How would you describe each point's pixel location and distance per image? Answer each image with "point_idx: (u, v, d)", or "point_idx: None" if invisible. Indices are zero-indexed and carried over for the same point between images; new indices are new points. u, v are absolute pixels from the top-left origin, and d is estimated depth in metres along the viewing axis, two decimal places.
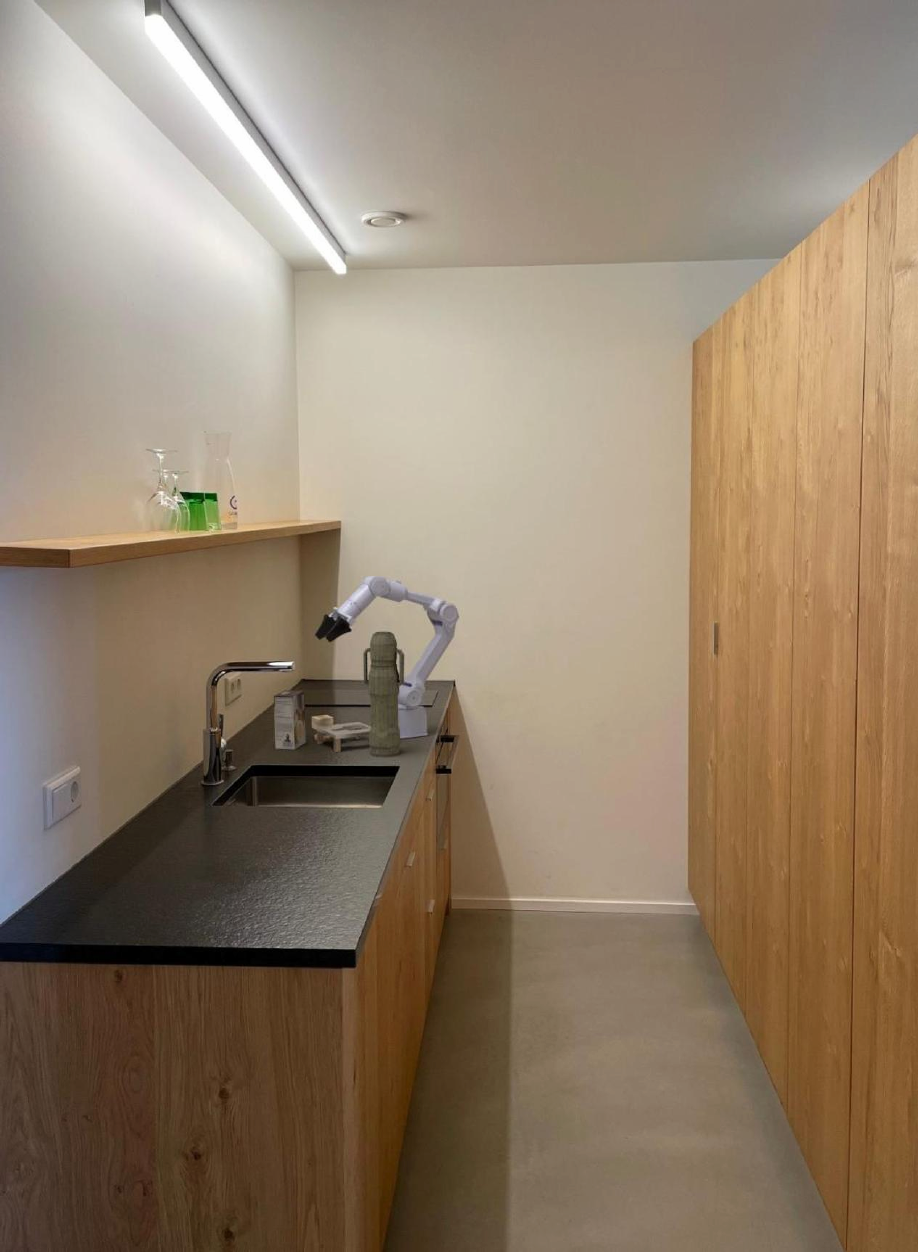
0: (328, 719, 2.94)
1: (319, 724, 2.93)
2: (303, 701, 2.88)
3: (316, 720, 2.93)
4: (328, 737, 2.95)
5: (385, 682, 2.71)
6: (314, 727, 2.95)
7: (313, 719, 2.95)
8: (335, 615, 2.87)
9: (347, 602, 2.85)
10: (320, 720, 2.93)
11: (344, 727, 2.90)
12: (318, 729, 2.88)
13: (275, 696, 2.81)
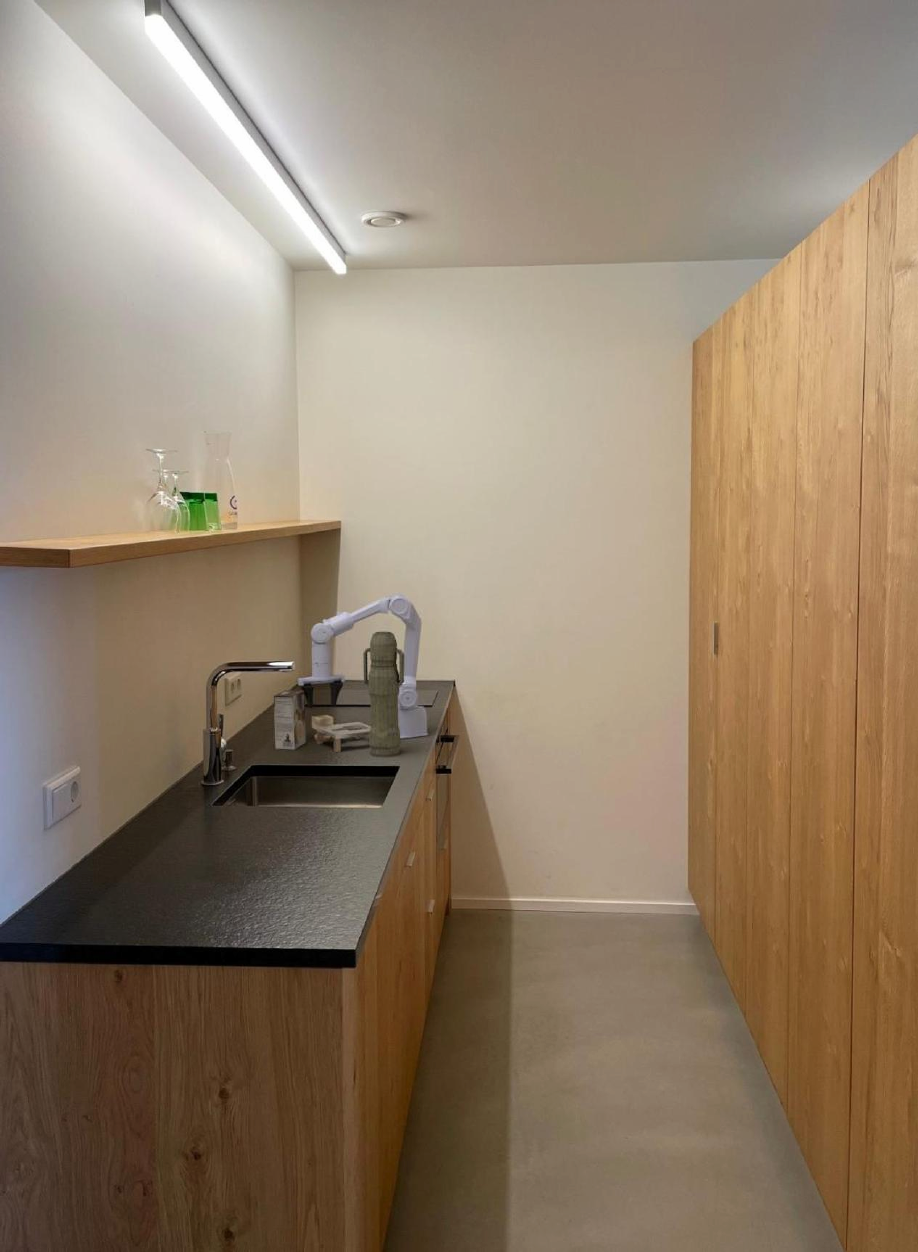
0: (328, 719, 2.94)
1: (319, 724, 2.93)
2: (303, 701, 2.88)
3: (316, 720, 2.93)
4: (328, 737, 2.95)
5: (385, 682, 2.71)
6: (314, 727, 2.95)
7: (313, 719, 2.95)
8: None
9: None
10: (320, 720, 2.93)
11: (344, 727, 2.90)
12: (318, 729, 2.88)
13: (275, 696, 2.81)
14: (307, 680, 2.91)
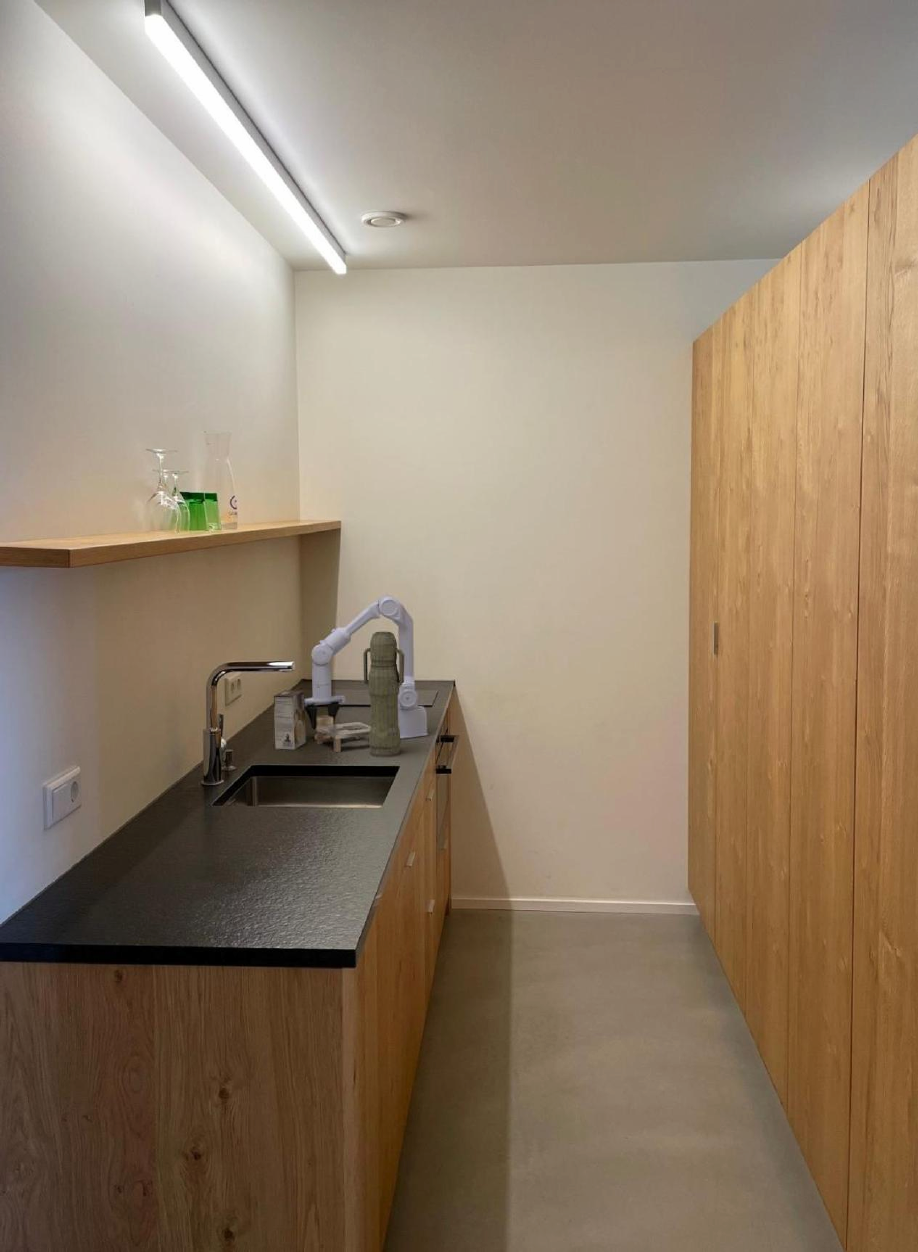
0: (328, 719, 2.94)
1: (319, 724, 2.93)
2: (303, 701, 2.88)
3: (316, 720, 2.93)
4: (328, 737, 2.95)
5: (385, 682, 2.71)
6: None
7: None
8: None
9: None
10: (320, 720, 2.93)
11: (344, 727, 2.90)
12: (318, 729, 2.88)
13: (275, 696, 2.81)
14: (307, 702, 2.91)
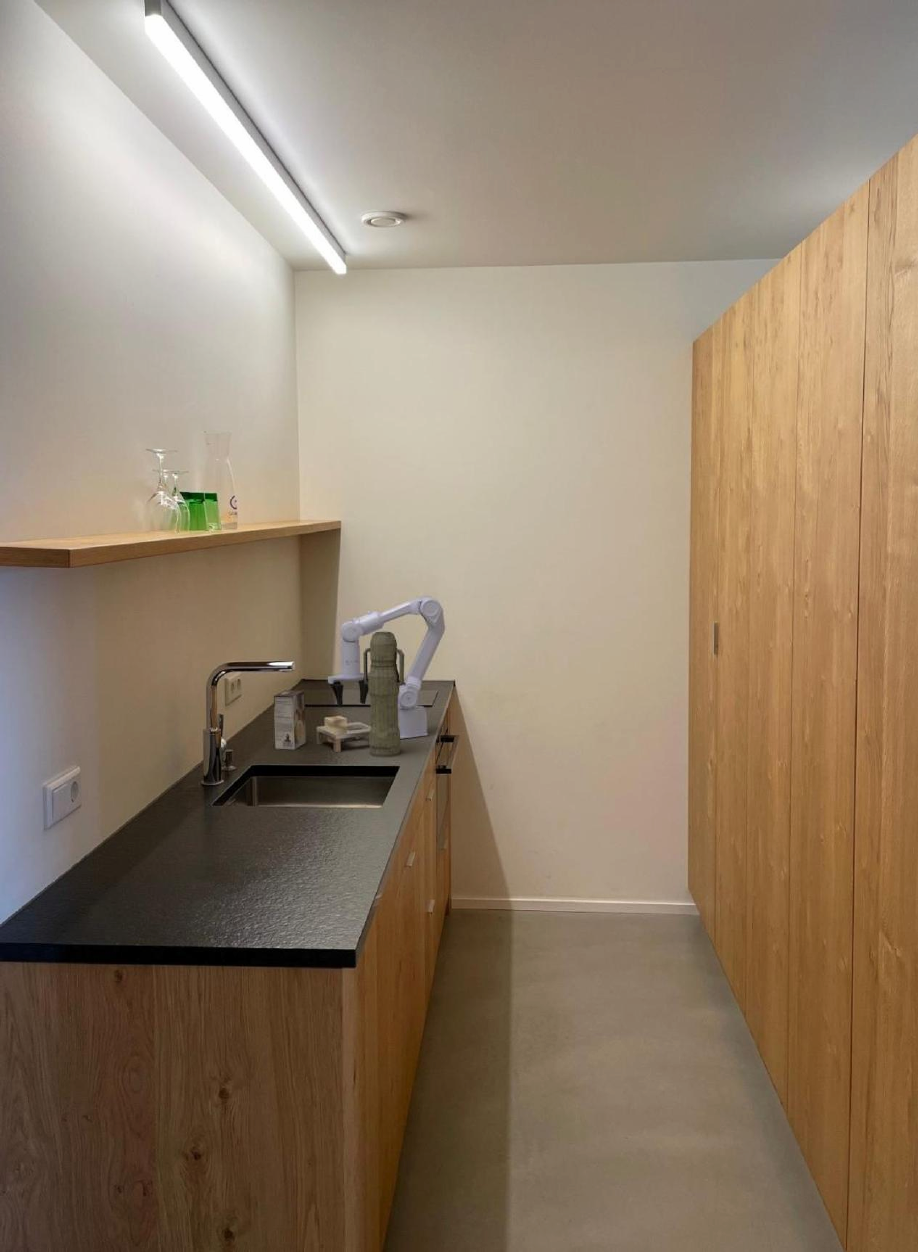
0: (342, 720, 2.83)
1: (332, 725, 2.82)
2: (303, 701, 2.88)
3: (329, 721, 2.83)
4: (341, 739, 2.84)
5: (385, 682, 2.71)
6: (327, 729, 2.84)
7: (326, 720, 2.85)
8: None
9: None
10: (333, 721, 2.82)
11: None
12: (318, 729, 2.88)
13: (275, 696, 2.81)
14: (336, 678, 2.91)
